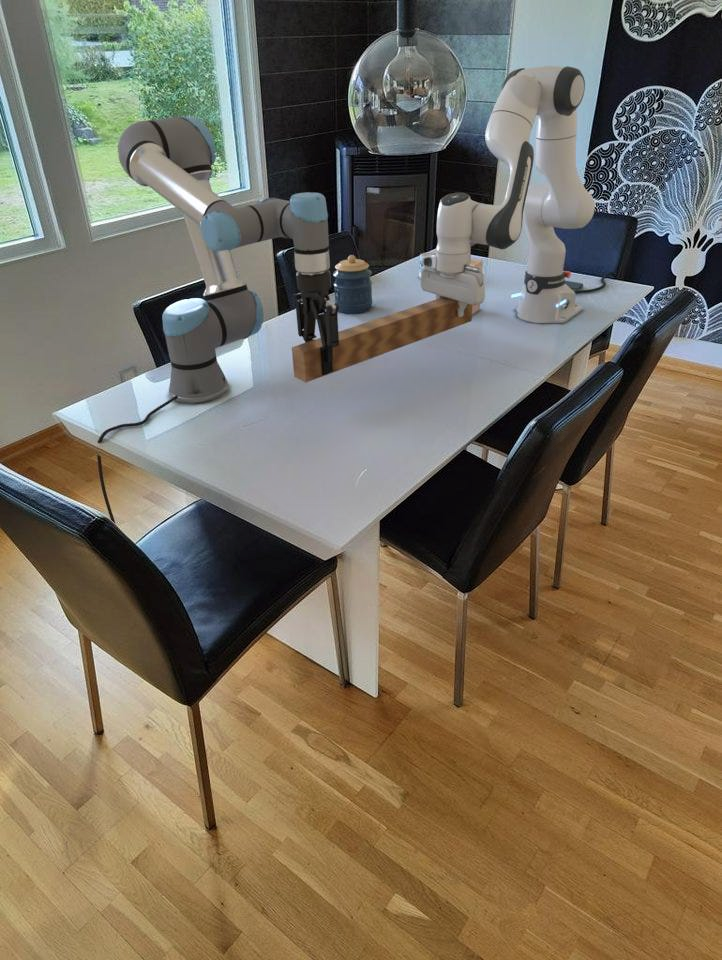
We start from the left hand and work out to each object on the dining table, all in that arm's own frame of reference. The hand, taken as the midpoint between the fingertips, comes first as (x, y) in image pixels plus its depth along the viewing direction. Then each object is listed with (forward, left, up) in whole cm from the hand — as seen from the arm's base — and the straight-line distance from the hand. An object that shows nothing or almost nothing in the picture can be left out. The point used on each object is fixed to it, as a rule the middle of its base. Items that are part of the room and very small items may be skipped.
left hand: (320, 369), depth 158 cm
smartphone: (+124, -8, -12) cm, 125 cm away
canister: (+67, +42, -12) cm, 80 cm away
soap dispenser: (+85, +9, -12) cm, 86 cm away
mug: (+113, +39, -12) cm, 120 cm away
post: (+22, -5, -1) cm, 23 cm away
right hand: (+44, -9, +2) cm, 45 cm away
